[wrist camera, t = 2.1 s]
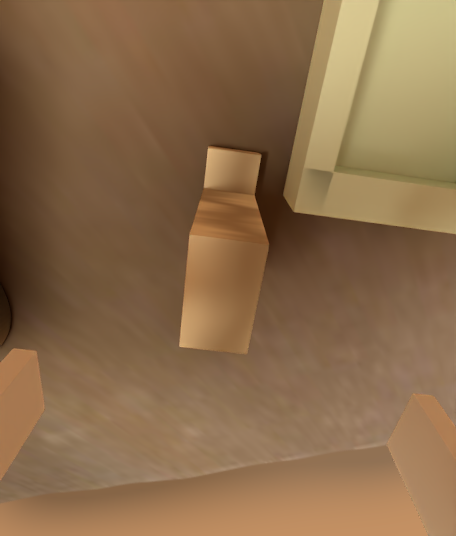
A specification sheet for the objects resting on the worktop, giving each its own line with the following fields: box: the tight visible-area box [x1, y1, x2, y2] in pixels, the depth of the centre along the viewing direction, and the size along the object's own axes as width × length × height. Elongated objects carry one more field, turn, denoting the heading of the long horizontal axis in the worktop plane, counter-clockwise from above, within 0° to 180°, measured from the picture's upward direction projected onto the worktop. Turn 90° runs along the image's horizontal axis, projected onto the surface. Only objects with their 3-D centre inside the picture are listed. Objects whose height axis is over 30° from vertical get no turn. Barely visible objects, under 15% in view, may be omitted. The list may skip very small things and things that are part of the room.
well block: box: [283, 0, 456, 234], centre depth 22 cm, size 15×19×5 cm
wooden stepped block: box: [179, 146, 269, 354], centre depth 23 cm, size 4×10×12 cm, turn 172°
